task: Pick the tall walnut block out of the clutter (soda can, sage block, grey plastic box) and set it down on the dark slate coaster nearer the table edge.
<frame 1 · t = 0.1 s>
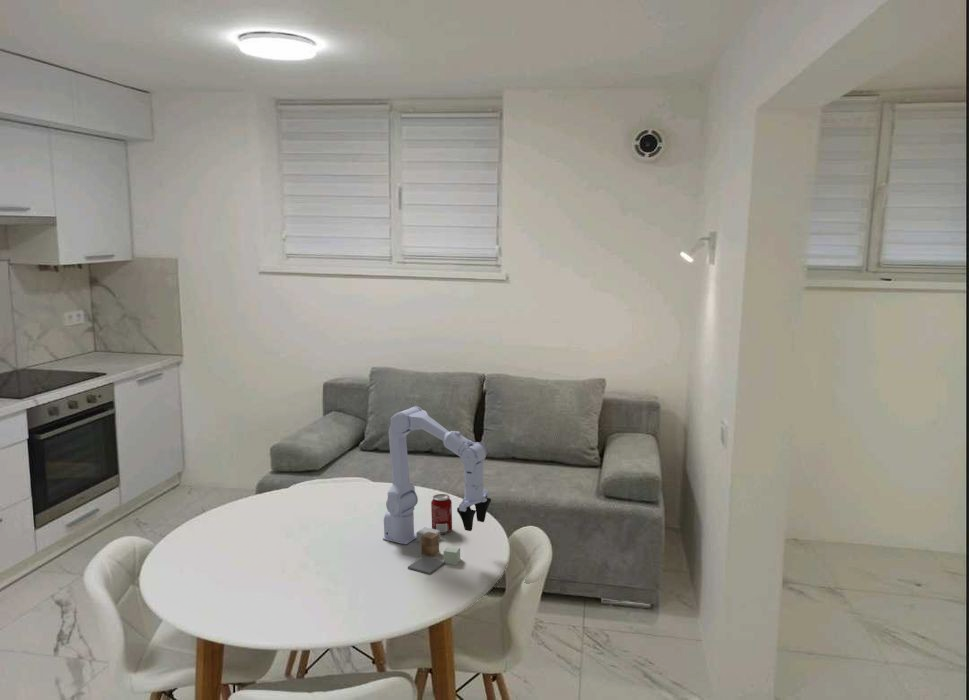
hand: (474, 525, 227), 10 cm above the table, fingers open, 7 cm apart
sage block: (452, 561, 226), on the table
soda can: (442, 531, 249), on the table
grey plastic box: (428, 540, 242), on the table
walnut block: (430, 553, 232), on the table
slate coaster: (426, 566, 223), on the table
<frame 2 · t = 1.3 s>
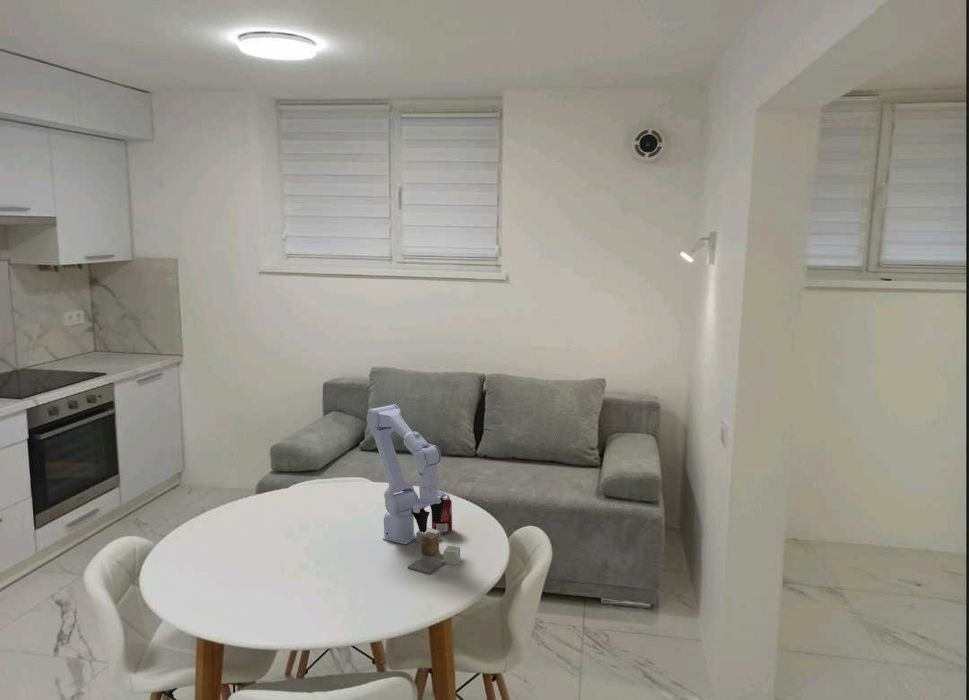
hand: (429, 527, 230), 9 cm above the table, fingers open, 7 cm apart
nothing on the table moved.
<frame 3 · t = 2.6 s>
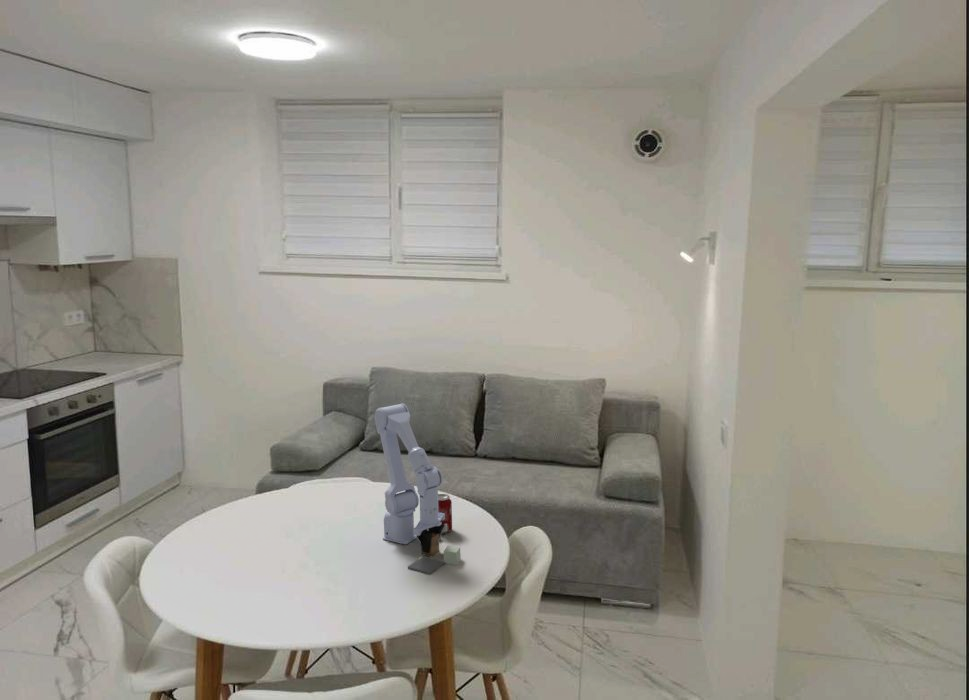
hand: (430, 548, 232), 1 cm above the table, fingers closed on walnut block, 4 cm apart
walnut block: (430, 553, 232), on the table, touching gripper
everything else where it was.
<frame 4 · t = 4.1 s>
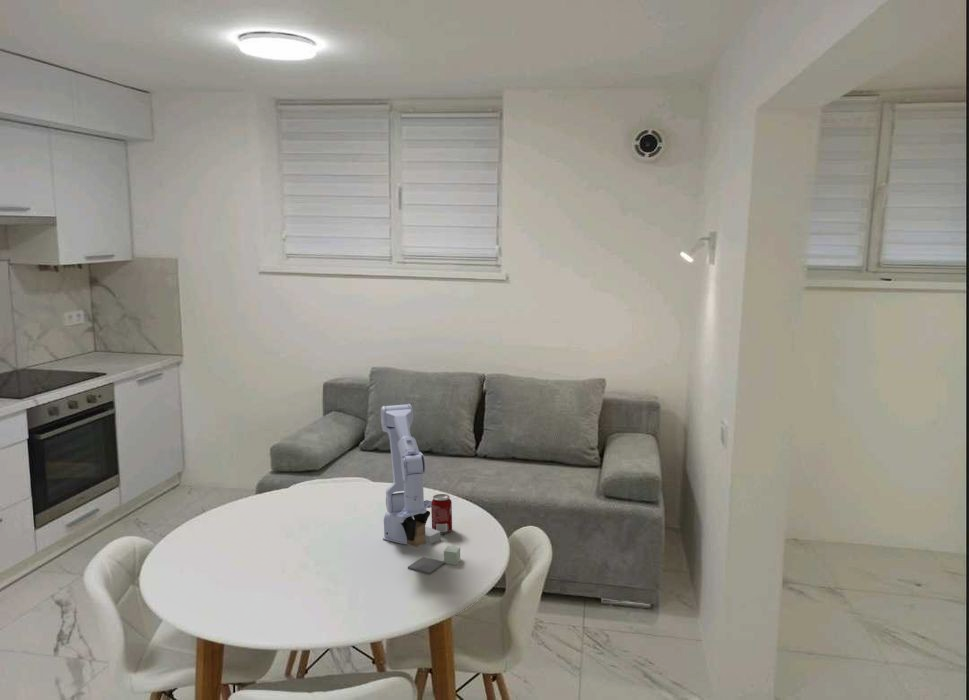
hand: (415, 537, 224), 8 cm above the table, fingers closed on walnut block, 4 cm apart
walnut block: (416, 543, 224), point 7 cm above the table, touching gripper
everything else where it was.
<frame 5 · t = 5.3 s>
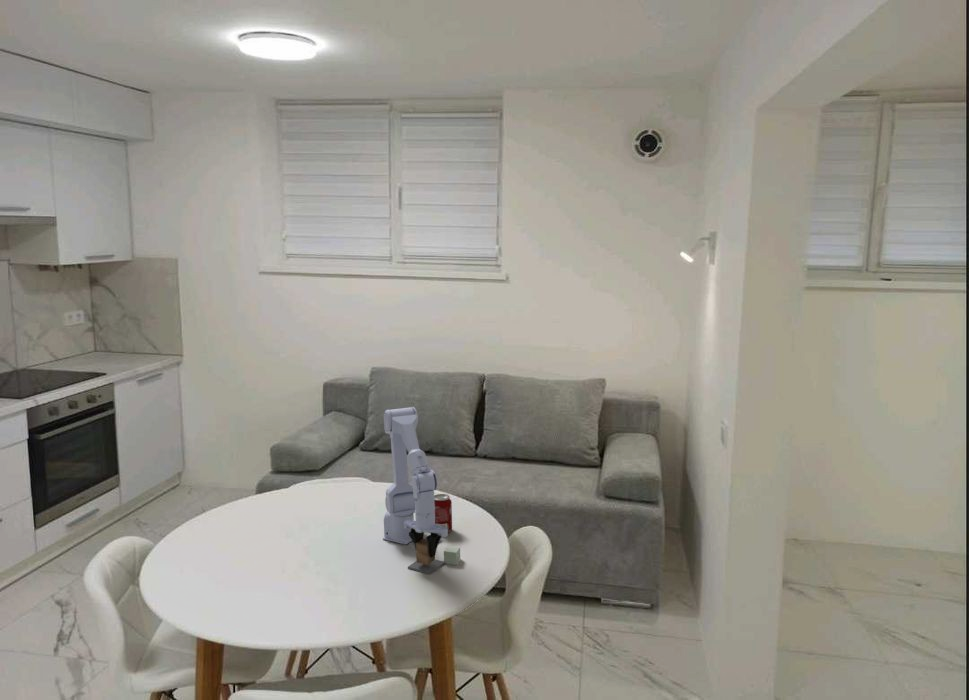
hand: (426, 554, 222), 4 cm above the table, fingers closed on walnut block, 4 cm apart
walnut block: (425, 560, 222), point 2 cm above the table, touching gripper
everything else where it was.
when the fingers open (3 cm above the table, at t = 5.9 s): walnut block stays where it is, resting on slate coaster.
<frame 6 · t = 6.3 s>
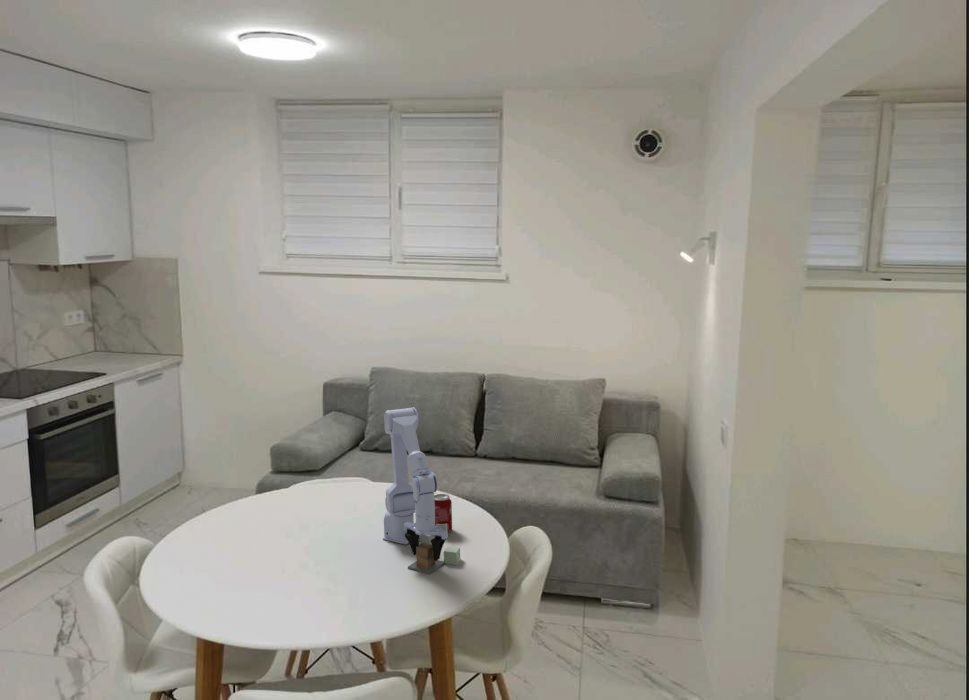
hand: (426, 556, 223), 3 cm above the table, fingers open, 7 cm apart
walnut block: (425, 564, 223), point 1 cm above the table, touching slate coaster
everything else where it was.
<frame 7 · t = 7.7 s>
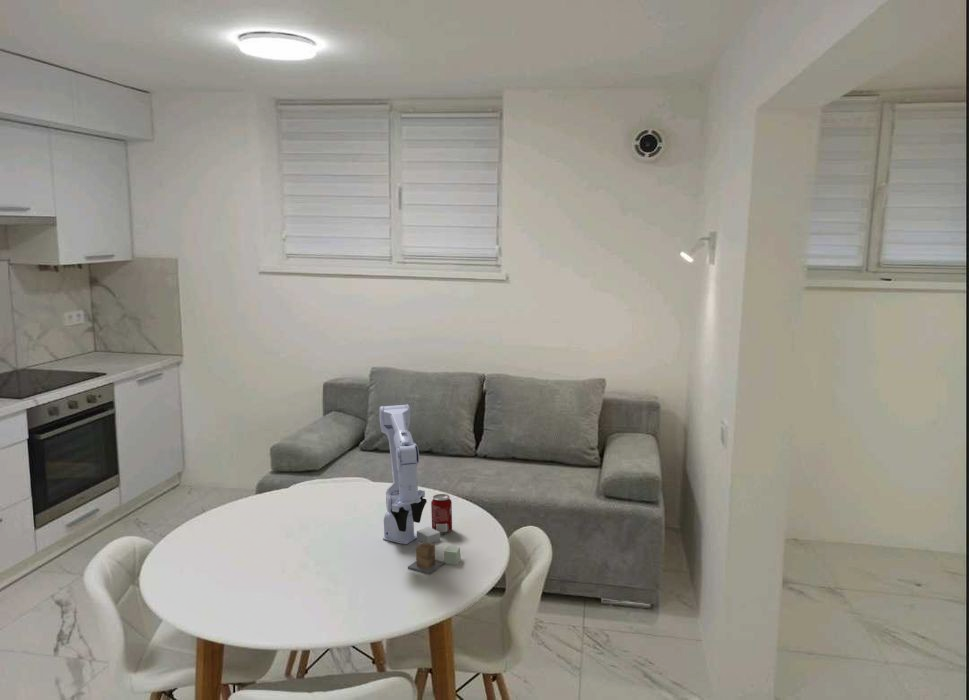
hand: (409, 526, 228), 10 cm above the table, fingers open, 7 cm apart
nothing on the table moved.
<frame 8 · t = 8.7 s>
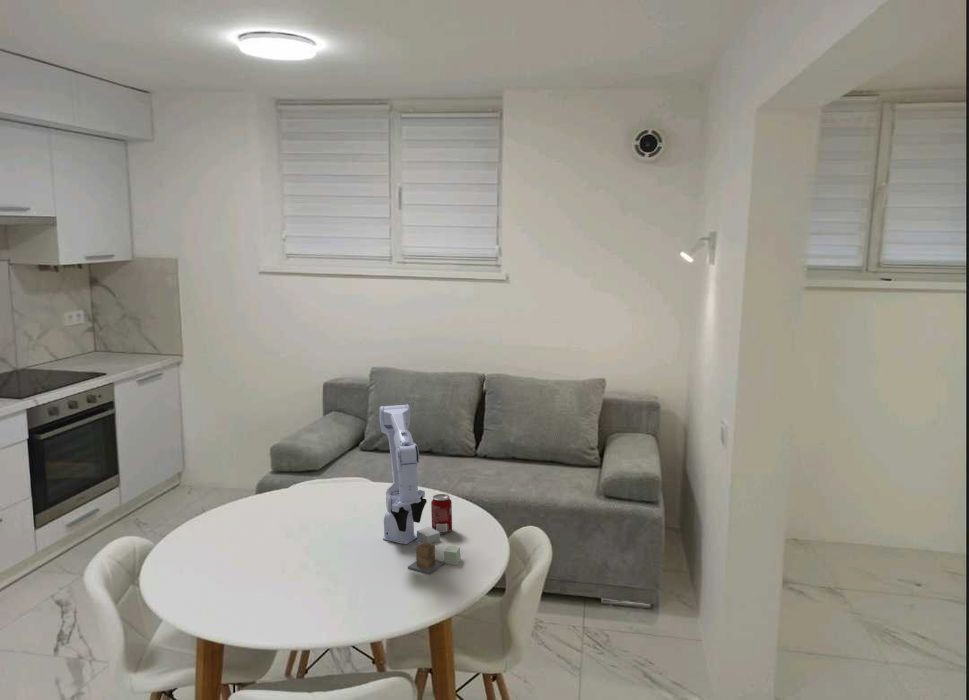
hand: (409, 526, 228), 10 cm above the table, fingers open, 7 cm apart
nothing on the table moved.
at the end: walnut block inside the target area on the slate coaster (0.3 cm from its centre), point 0.6 cm above the slate coaster's base; walnut block tilted 0°; the gripper is holding nothing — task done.
